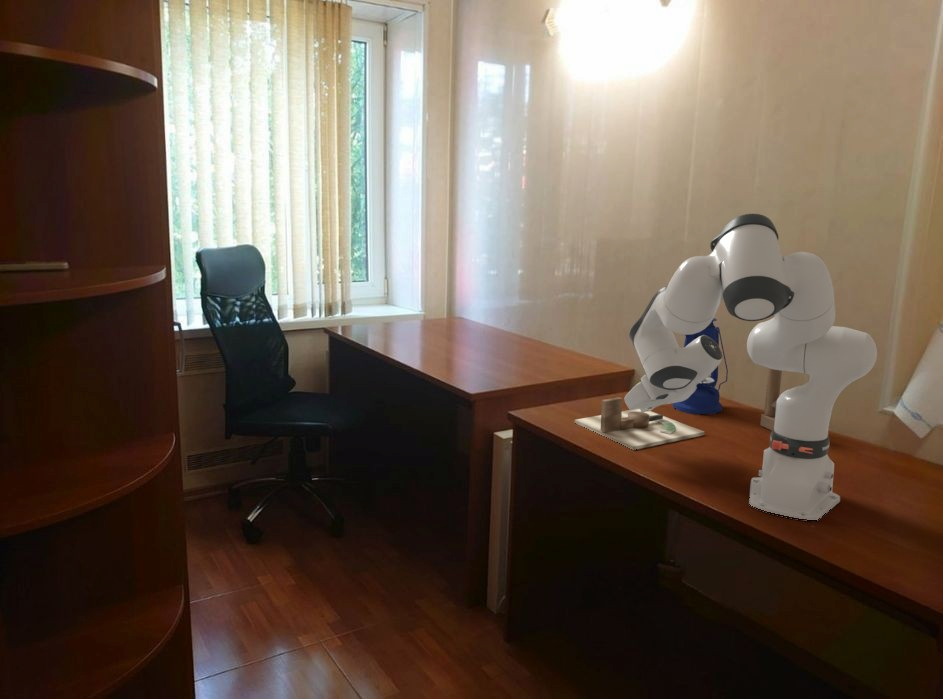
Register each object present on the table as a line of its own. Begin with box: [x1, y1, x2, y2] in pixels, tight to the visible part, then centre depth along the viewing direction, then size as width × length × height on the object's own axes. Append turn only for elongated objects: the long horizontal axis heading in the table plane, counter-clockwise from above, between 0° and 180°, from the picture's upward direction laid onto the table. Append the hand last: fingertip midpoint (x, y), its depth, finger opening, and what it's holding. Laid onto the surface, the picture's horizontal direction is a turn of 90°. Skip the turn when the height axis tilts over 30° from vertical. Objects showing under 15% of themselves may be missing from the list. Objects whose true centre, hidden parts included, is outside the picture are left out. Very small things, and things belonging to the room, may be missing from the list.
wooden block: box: [760, 368, 783, 432], centre depth 203 cm, size 4×11×18 cm, turn 16°
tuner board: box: [574, 409, 705, 451], centre depth 206 cm, size 26×26×1 cm
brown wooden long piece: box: [600, 396, 664, 432], centre depth 204 cm, size 22×6×9 cm, turn 118°
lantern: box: [672, 317, 729, 415], centre depth 224 cm, size 17×15×30 cm
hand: (644, 409), depth 189 cm, fingers closed
